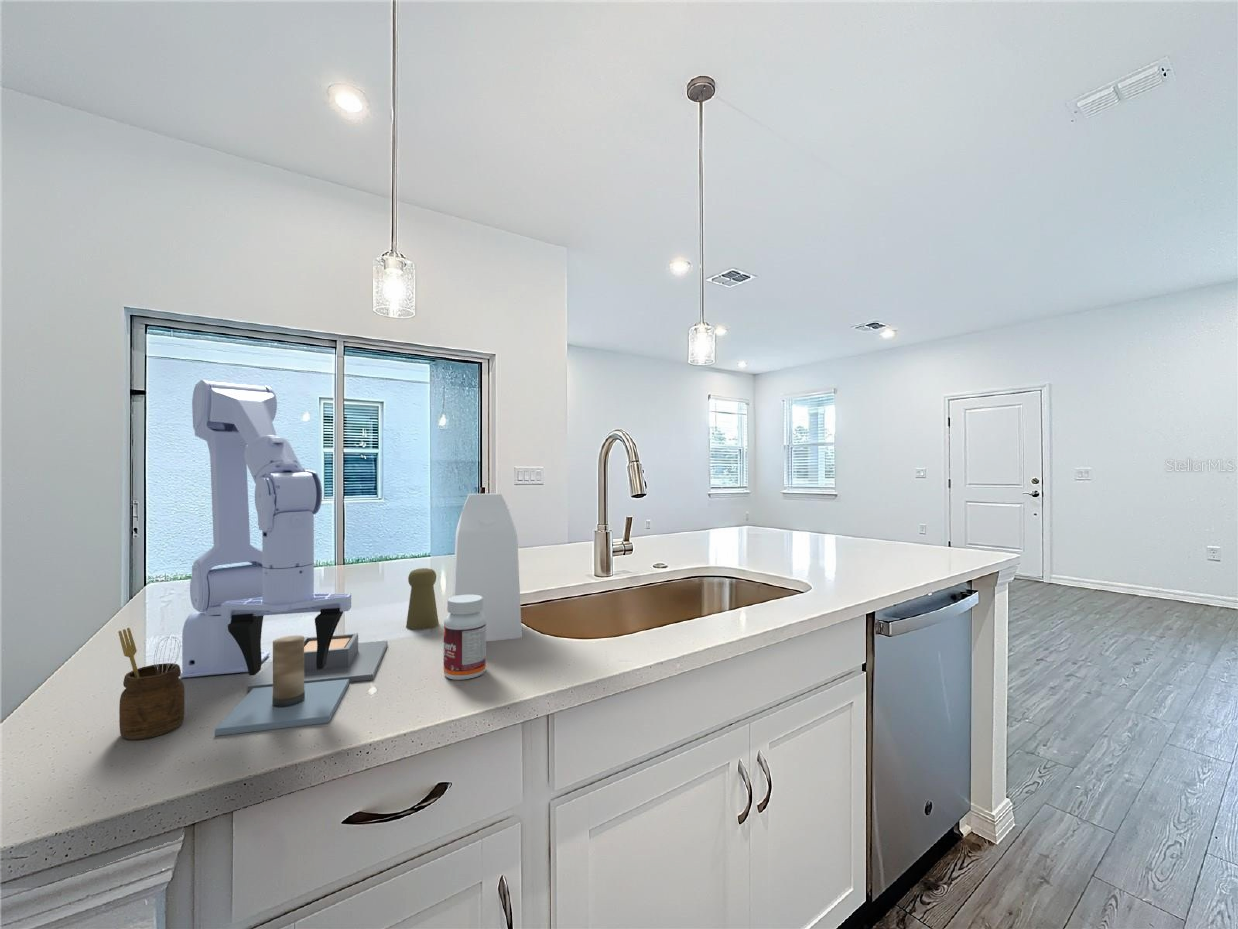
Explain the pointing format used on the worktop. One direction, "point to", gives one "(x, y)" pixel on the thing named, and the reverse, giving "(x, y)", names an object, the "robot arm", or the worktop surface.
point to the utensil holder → (150, 696)
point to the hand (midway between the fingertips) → (288, 669)
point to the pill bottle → (464, 638)
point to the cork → (422, 600)
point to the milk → (489, 563)
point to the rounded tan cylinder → (288, 671)
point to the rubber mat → (284, 709)
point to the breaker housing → (335, 663)
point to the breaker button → (333, 645)
